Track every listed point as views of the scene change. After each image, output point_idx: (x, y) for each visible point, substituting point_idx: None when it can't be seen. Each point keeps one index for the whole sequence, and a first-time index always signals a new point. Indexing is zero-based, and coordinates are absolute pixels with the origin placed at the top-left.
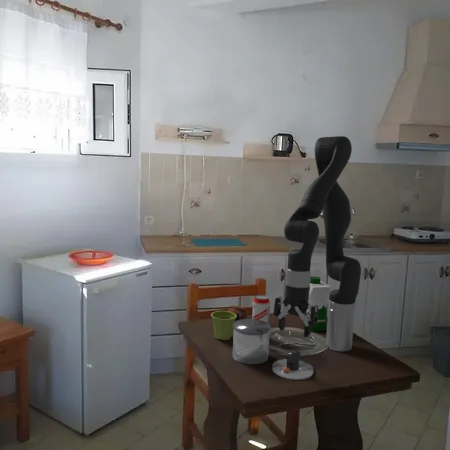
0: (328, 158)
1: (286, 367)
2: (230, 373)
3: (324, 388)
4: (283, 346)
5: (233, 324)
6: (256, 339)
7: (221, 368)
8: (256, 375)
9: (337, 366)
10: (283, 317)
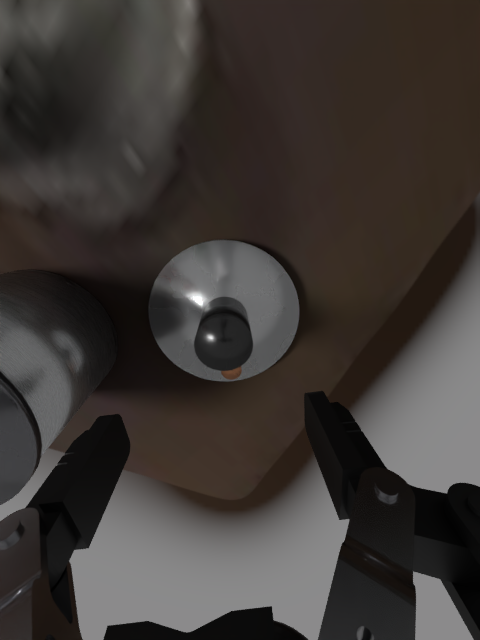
0: None
1: (230, 371)
2: None
3: (364, 345)
4: (24, 125)
5: None
6: (52, 440)
7: None
8: (172, 415)
9: (343, 141)
10: (59, 547)
